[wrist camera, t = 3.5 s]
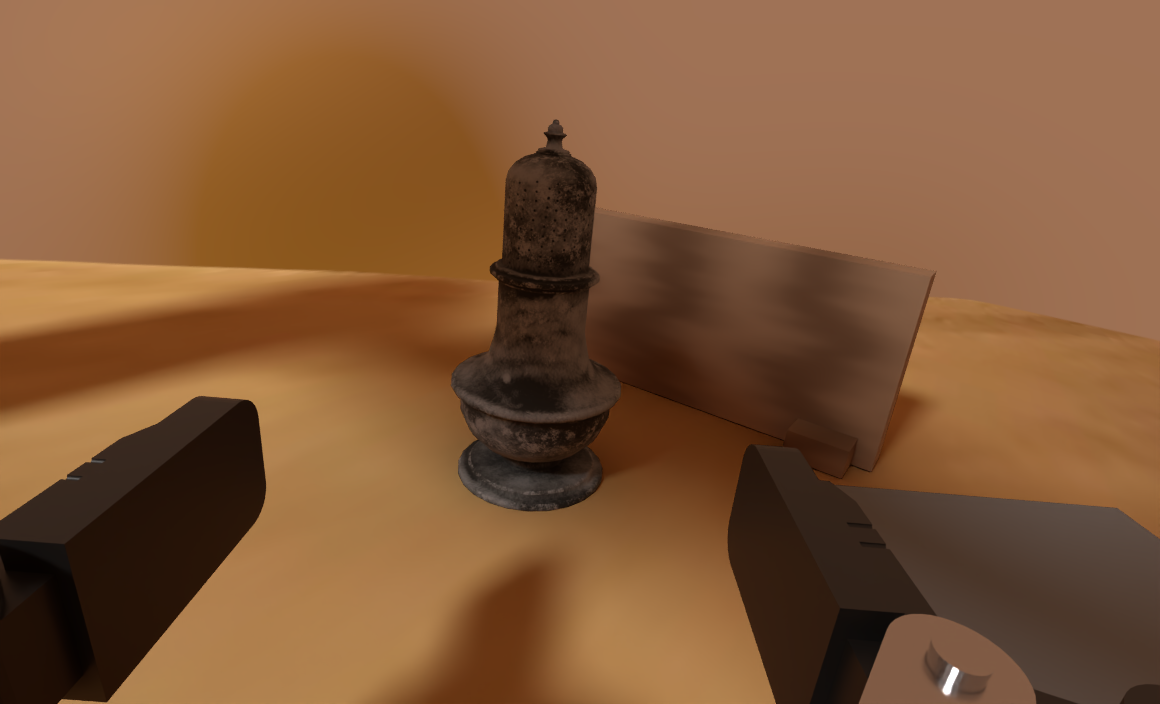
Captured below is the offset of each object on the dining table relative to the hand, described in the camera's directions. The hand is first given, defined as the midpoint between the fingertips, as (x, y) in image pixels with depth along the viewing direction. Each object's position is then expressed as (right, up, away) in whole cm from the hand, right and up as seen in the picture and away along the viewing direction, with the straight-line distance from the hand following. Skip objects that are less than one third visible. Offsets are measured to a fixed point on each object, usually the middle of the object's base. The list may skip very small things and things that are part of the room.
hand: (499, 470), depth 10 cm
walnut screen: (+5, 0, +20) cm, 21 cm away
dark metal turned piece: (-1, -2, +12) cm, 12 cm away
